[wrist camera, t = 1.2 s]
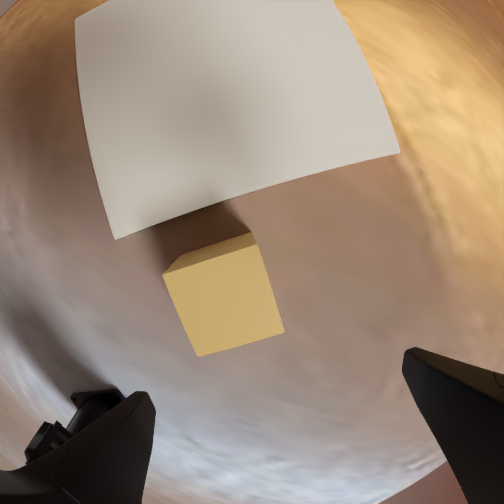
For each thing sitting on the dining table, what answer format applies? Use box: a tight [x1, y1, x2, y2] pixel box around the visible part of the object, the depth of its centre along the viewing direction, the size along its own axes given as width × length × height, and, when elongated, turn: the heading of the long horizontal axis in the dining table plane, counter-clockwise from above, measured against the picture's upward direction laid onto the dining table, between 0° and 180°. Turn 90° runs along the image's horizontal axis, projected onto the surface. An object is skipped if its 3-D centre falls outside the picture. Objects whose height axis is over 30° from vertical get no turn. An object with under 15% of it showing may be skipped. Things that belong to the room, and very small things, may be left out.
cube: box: [162, 232, 285, 357], centre depth 16 cm, size 5×5×5 cm
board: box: [75, 0, 401, 240], centre depth 15 cm, size 20×20×2 cm
